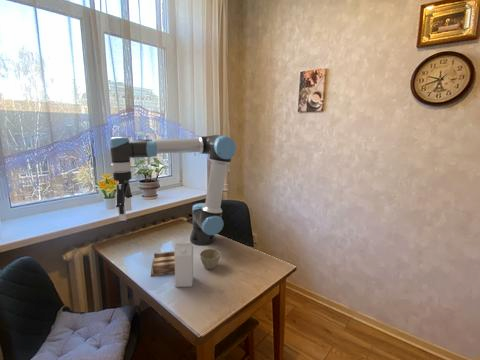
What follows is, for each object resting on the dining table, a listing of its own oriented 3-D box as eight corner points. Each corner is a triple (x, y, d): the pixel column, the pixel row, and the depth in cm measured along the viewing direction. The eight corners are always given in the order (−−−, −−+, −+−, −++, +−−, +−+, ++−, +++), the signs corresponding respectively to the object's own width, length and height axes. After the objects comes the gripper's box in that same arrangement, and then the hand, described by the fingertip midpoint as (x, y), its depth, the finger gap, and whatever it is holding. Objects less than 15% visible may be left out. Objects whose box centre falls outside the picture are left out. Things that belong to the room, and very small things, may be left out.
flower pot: (203, 274, 118) (203, 260, 116) (197, 264, 126) (197, 251, 125) (223, 269, 122) (223, 256, 121) (215, 259, 131) (215, 247, 129)
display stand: (184, 257, 132) (184, 249, 131) (185, 271, 119) (185, 263, 118) (152, 260, 128) (152, 252, 127) (150, 276, 115) (150, 267, 114)
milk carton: (177, 277, 114) (176, 239, 110) (193, 277, 115) (192, 239, 111) (175, 287, 108) (173, 247, 104) (191, 286, 108) (191, 246, 104)
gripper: (119, 166, 124) (123, 207, 129) (105, 176, 100) (110, 225, 105) (135, 166, 126) (138, 206, 130) (125, 176, 102) (129, 224, 107)
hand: (125, 215), depth 118 cm, fingers open, 13 cm apart
